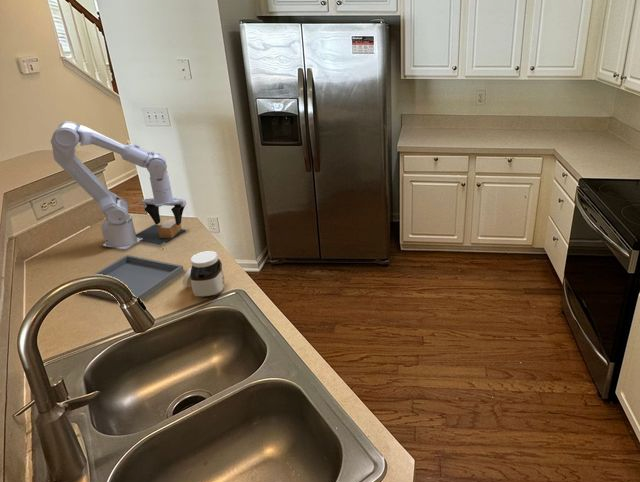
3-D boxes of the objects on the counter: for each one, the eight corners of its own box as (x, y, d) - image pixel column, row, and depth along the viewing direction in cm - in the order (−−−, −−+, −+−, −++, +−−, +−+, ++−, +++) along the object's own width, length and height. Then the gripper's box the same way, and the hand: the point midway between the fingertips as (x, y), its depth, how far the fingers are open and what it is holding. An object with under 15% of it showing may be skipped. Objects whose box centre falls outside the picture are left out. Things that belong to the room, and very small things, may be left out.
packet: (159, 237, 153) (157, 227, 152) (169, 228, 160) (167, 219, 158) (171, 238, 153) (169, 228, 152) (181, 229, 160) (179, 219, 158)
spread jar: (220, 300, 121) (214, 265, 117) (177, 304, 119) (169, 268, 115) (229, 277, 132) (224, 244, 128) (190, 280, 130) (183, 246, 126)
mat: (128, 240, 152) (127, 238, 152) (154, 226, 163) (154, 224, 163) (160, 246, 149) (160, 244, 149) (185, 231, 160) (185, 229, 159)
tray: (76, 292, 123) (74, 284, 122) (128, 261, 139) (127, 254, 138) (137, 306, 118) (135, 298, 117) (184, 272, 134) (182, 265, 133)
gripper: (133, 192, 146) (142, 228, 151) (176, 193, 146) (183, 229, 151) (145, 185, 153) (153, 219, 158) (186, 185, 153) (192, 220, 158)
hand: (168, 223), depth 155 cm, fingers open, 7 cm apart
